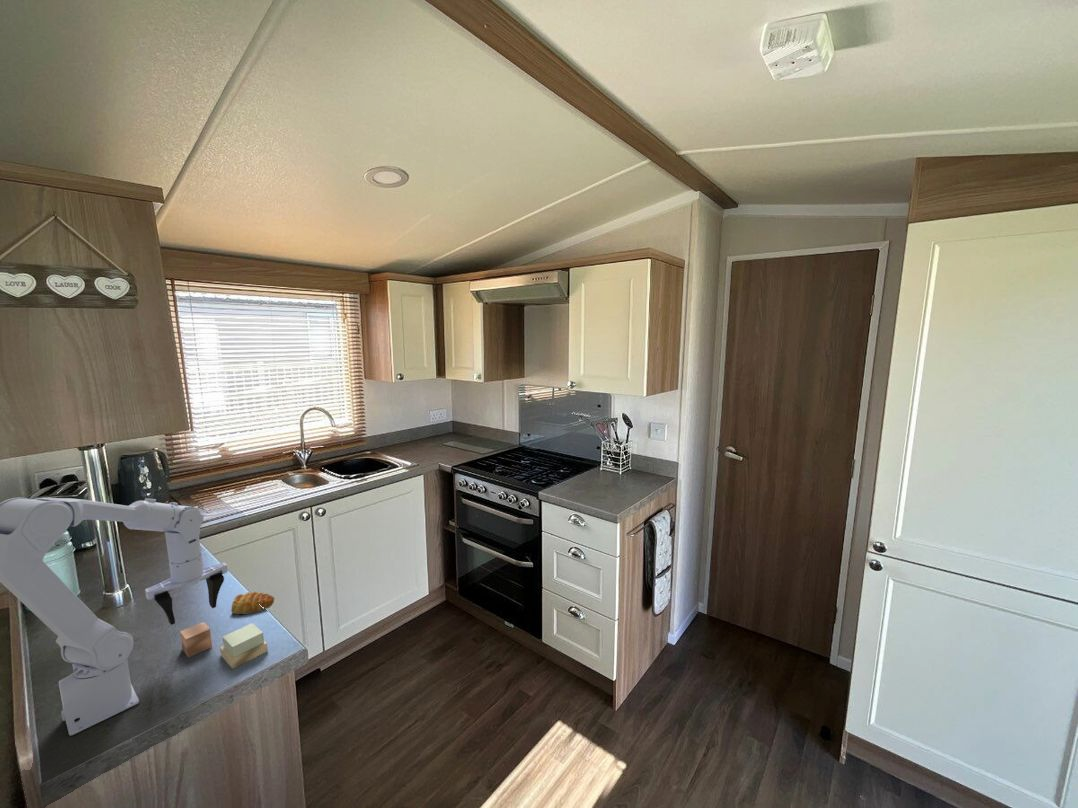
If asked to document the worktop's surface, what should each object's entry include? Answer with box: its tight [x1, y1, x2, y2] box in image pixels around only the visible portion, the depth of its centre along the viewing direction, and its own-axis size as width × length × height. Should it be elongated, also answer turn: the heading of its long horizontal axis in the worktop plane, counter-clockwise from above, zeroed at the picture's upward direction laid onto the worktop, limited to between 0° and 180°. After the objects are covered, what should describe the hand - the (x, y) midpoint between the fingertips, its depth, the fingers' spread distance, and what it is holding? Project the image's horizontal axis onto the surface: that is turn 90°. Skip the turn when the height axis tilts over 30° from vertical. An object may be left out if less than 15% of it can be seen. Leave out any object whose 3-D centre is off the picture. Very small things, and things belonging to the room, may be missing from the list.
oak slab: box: [219, 640, 269, 670], centre depth 101 cm, size 7×7×2 cm
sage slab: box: [221, 622, 265, 657], centre depth 101 cm, size 6×6×2 cm
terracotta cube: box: [179, 621, 213, 658], centre depth 103 cm, size 4×4×4 cm
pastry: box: [230, 591, 275, 616], centre depth 119 cm, size 9×7×4 cm
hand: (193, 614), depth 102 cm, fingers open, 7 cm apart
